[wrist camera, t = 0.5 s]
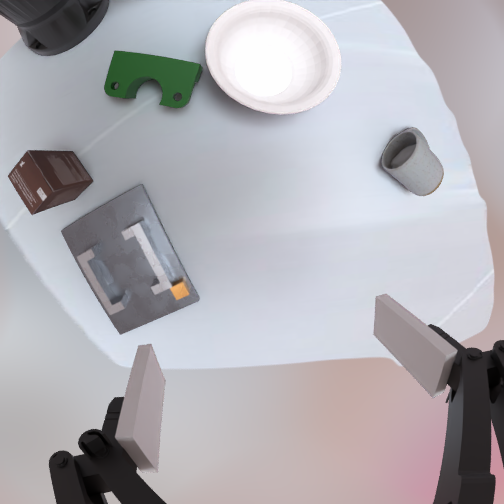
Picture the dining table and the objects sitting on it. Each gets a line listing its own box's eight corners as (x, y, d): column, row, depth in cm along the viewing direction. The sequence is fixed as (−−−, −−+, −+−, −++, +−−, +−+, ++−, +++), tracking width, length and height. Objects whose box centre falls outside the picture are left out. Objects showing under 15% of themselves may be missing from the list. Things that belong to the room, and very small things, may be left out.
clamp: (136, 96, 37) (93, 93, 29) (147, 60, 35) (105, 50, 27) (202, 112, 35) (164, 107, 27) (216, 71, 33) (181, 56, 25)
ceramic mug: (407, 197, 43) (438, 202, 36) (374, 169, 41) (404, 170, 34) (429, 146, 42) (460, 145, 35) (398, 117, 40) (428, 111, 32)
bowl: (268, 148, 38) (284, 143, 30) (180, 76, 34) (174, 53, 26) (337, 76, 37) (365, 60, 29) (257, 9, 32) (269, -20, 24)
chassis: (63, 229, 36) (53, 234, 33) (142, 184, 37) (136, 185, 34) (121, 331, 42) (116, 343, 39) (199, 297, 42) (199, 308, 39)
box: (52, 171, 34) (5, 175, 23) (73, 150, 34) (29, 146, 22) (73, 203, 36) (30, 216, 24) (95, 182, 36) (55, 188, 24)
